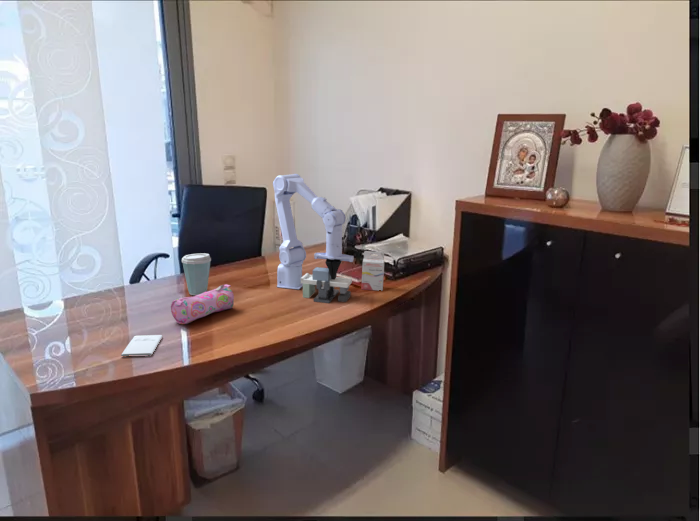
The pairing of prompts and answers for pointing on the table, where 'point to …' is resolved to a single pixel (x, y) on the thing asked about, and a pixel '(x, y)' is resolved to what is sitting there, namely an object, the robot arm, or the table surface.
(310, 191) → the robot arm
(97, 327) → the table surface
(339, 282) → the plank
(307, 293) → the level rest
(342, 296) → the tip stop
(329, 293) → the stand
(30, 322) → the table surface
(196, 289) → the disposable coffee cup
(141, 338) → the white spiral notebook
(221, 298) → the pencil case
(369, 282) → the ink cartridge box
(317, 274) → the block
